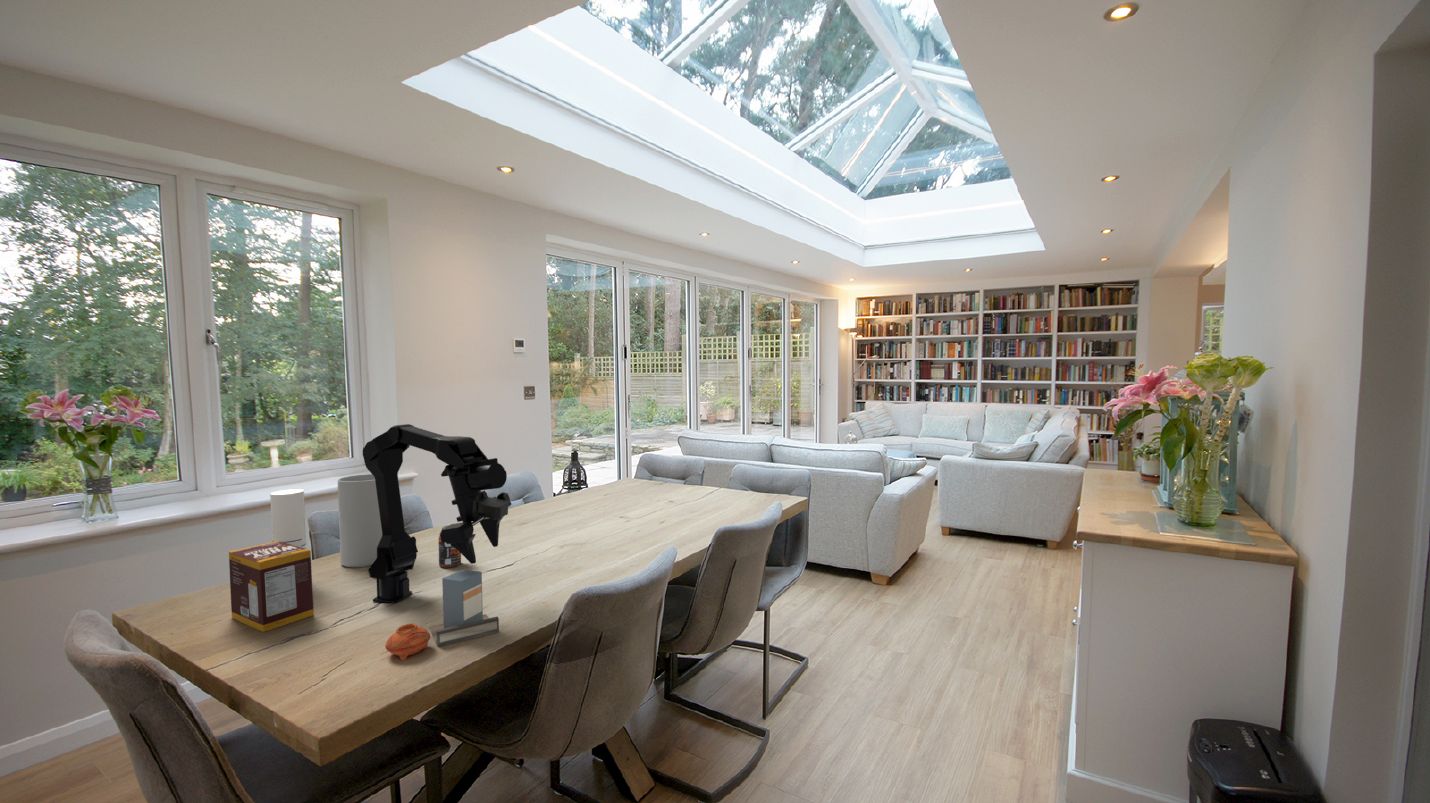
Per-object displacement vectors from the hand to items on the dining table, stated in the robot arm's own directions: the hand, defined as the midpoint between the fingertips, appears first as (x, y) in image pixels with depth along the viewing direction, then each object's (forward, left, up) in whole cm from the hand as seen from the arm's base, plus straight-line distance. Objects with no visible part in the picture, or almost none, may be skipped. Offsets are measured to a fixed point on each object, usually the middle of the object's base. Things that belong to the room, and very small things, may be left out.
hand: (485, 554), depth 140 cm
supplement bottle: (-27, +29, -14) cm, 42 cm away
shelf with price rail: (+2, -13, -13) cm, 18 cm away
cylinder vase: (-54, +29, -14) cm, 63 cm away
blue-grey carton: (+2, -13, -12) cm, 18 cm away
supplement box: (-47, -10, -14) cm, 50 cm away
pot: (-4, -23, -14) cm, 27 cm away
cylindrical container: (-59, +8, -14) cm, 61 cm away
